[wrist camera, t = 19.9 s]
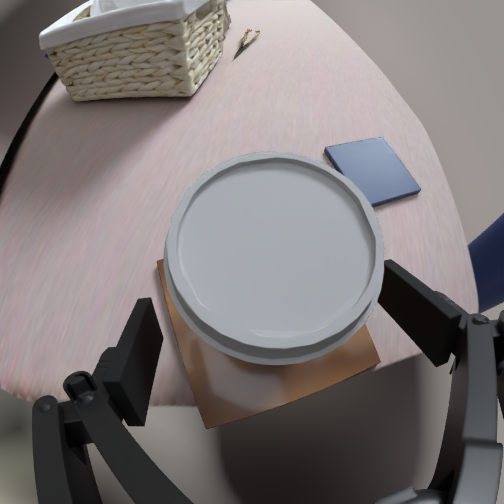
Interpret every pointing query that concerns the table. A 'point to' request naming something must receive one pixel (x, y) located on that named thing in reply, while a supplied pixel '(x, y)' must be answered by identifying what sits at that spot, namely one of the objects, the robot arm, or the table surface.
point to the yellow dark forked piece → (247, 43)
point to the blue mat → (373, 169)
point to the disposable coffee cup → (274, 258)
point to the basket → (135, 47)
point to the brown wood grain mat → (259, 373)
